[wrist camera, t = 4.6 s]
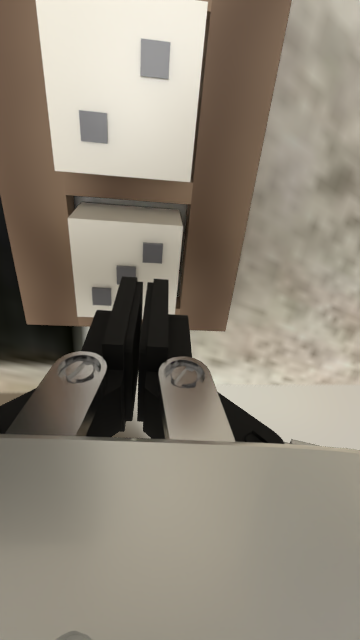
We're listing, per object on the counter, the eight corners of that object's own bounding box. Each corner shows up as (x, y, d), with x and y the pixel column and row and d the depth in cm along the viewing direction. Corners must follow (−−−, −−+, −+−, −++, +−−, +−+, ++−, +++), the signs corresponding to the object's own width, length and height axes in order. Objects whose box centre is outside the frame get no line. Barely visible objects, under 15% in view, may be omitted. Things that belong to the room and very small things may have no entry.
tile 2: (196, 26, 12) (209, -1, 9) (184, 171, 15) (190, 183, 12) (59, 7, 11) (30, -27, 9) (72, 161, 14) (53, 171, 11)
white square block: (178, 209, 17) (183, 227, 14) (171, 293, 19) (174, 322, 17) (81, 202, 16) (66, 219, 13) (87, 289, 19) (76, 318, 16)
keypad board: (349, -370, 9) (382, -451, 8) (221, 318, 21) (225, 331, 20) (-115, -501, 8) (-168, -624, 6) (35, 311, 20) (26, 324, 19)
